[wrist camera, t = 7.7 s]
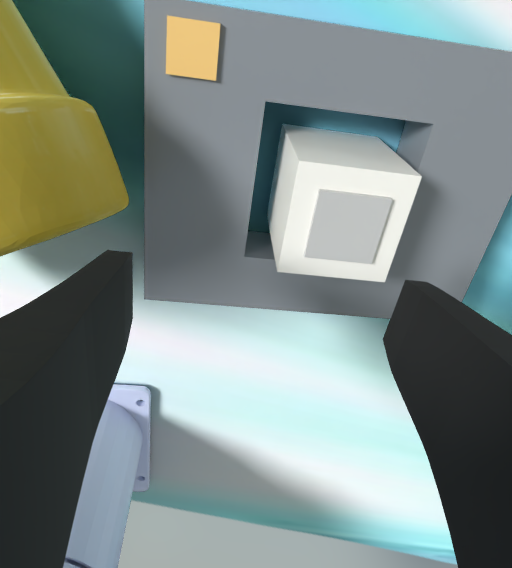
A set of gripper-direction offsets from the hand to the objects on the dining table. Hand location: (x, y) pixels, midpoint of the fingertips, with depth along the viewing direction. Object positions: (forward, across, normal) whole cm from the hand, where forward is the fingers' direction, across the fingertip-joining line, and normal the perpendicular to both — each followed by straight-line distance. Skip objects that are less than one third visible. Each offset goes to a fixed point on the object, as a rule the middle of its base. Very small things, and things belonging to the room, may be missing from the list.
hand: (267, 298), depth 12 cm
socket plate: (+9, -3, -1) cm, 9 cm away
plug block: (+9, -3, -1) cm, 9 cm away
